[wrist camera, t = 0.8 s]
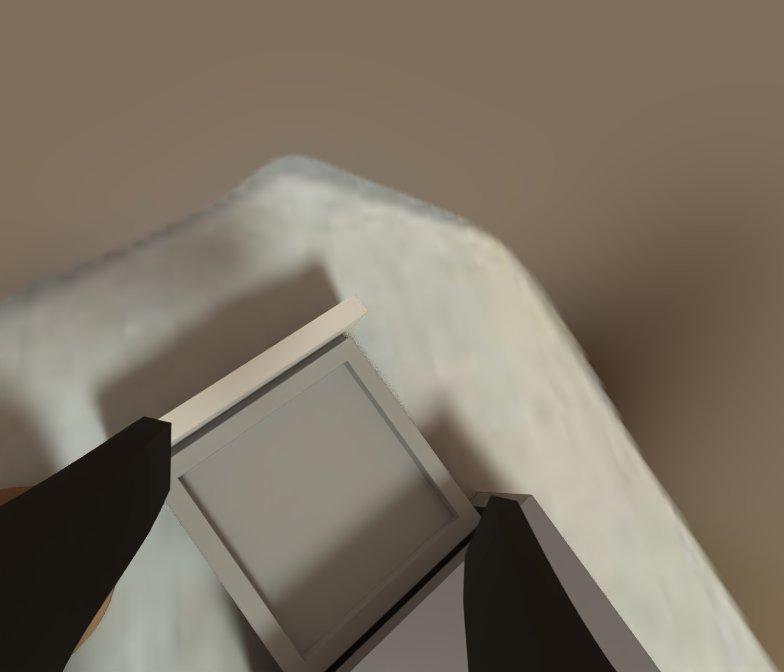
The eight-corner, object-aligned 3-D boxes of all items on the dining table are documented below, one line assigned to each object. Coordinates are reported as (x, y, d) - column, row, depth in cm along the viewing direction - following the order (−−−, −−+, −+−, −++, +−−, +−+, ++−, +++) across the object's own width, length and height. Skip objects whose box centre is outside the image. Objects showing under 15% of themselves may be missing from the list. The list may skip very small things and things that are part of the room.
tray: (273, 696, 21) (279, 728, 19) (112, 462, 22) (94, 459, 19) (479, 503, 26) (509, 506, 23) (342, 313, 26) (354, 293, 24)
